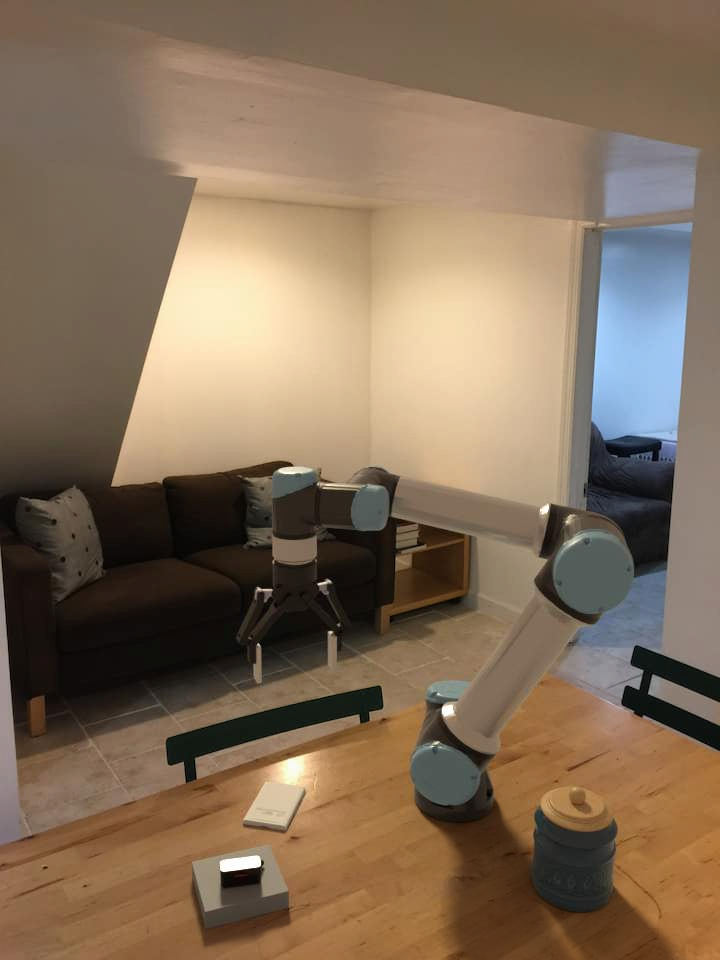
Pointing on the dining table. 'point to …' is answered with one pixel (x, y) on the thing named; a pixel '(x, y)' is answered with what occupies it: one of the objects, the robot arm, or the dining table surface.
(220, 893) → the stand
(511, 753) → the dining table surface
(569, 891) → the canister
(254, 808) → the external hard drive
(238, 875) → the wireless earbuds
